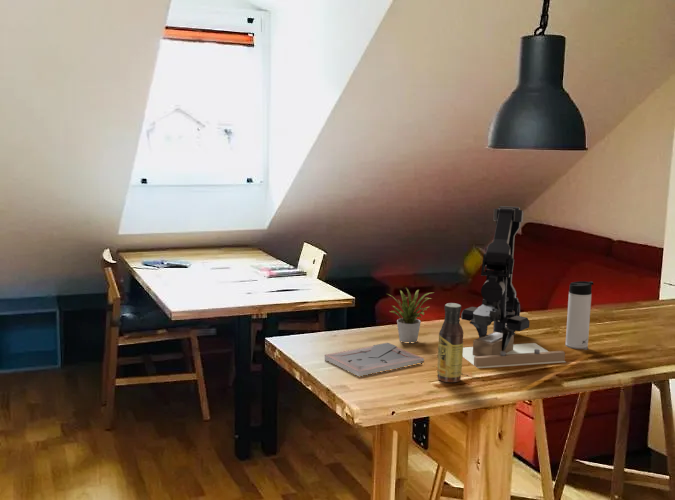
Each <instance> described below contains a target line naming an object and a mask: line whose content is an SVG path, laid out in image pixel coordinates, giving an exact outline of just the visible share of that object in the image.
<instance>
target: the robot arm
mask: <svg viewBox="0 0 675 500" xmlns="http://www.w3.org/2000/svg"><path fill="white" fill-rule="evenodd" d="M524 215H525V214H524V210H522V209H521V208H520V206H506V205H505V206H504V205H503V206H502V205H500V206H498V208H494V209H493V221H494V222H495V230H494V235H493V240H492V242H490V243H489V244H488V245H487V247H486V251H485V252H484V253H483V255H482V256H483V258H482V264H481V271H480V276H483V277H485V276H486V277H485V282H484V283H483V285H482V286H481V288H480V295H481V297H482V300H481V301H482V302H481V305H479V306H478V307H476V306H469V307H467V308H464V309H463V310H461V311H462V312H461V313H460V317H461V319H460V320H463V321H468V322H469V324H471V325H473V327H474V328H475V330H476V331H477V334H478V338H480V337H483V336H485V335H488V327H489V326H490V325H492V323H493V331H492V333H493V332H499V333H503V337H502V351H504V350H505V349H506V347H507V345H508V343H509V341H510V339H511V337H512V335H513V336H514V335H516V333H515V332H522V331H524V330H526V329H529V328H530V320H529V318H528V317H526V316H521V314H520V313H521V302H520V301H519V298H518V297H517V291H516V288H515V287H514V284H513V283H512V282H513V272H514V271H513V270H514V266H515V265H514V264H515V259H514V252H515V239H516V238H515V236H516V235H517V233H518V232H519V230H520V229H521V225H522V224H521V223H524Z"/></svg>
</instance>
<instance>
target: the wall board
mask: <svg viewBox="0 0 675 500" xmlns="http://www.w3.org/2000/svg"><path fill="white" fill-rule="evenodd" d="M565 355H566V352H565V351H564V350H555V351H554V350H552V351H548V350H547V349H546V348H544V347H542V346H541V345H538V344H537V343H536V342H530V343H528V342H527V343H516V344H515V343H513V350H512V351H509V352H507V353H506V352H505V351H501V353H500V355H490V356H476V355H473V346H468V347H467V346H466V347H464V346H463V357H462V358H464V359H465V360H466V361H467V362H469V363H470V364H471V365H473V366H474V367H475V368H477V369H483V368H484V369H485V368H486V369H487V368H501V367H516V366H528V365H529V366H531V365H543V364H545V365H546V364H557V363H559V364H560V363H567V361H565Z"/></svg>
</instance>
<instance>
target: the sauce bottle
mask: <svg viewBox="0 0 675 500" xmlns="http://www.w3.org/2000/svg"><path fill="white" fill-rule="evenodd" d="M461 311H462V305H461V304H459V303H455V302H448V303H446V304H444V320H443V323H442V326H441V328H440V331H439V333H438V344H437V364H436V365H437V367H436V374H437V376H436V377H437V379H438V380H439V381H441V382H443V383H458V382H460V381H461V379H462V376H461V375H462V372H463V371H462V370H463V358H464V357H463V348H464V330H463V326H462V325H461V323H460V322H461V319H460V317H461Z"/></svg>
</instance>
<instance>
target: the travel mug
mask: <svg viewBox="0 0 675 500" xmlns="http://www.w3.org/2000/svg"><path fill="white" fill-rule="evenodd" d="M592 286H594V282H593V281H583V280H582V281H574V282H570V283H569V288H568V289H569V290H568V299H567V300H568V301H567V316H566V332H565V347H566V348H569V349H573V350H575V349H576V350H585V351H587V350H588V349H589V336H590V335H589V333H590V321H591V319H590V317H591V306H592V290H593V289H592Z"/></svg>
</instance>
